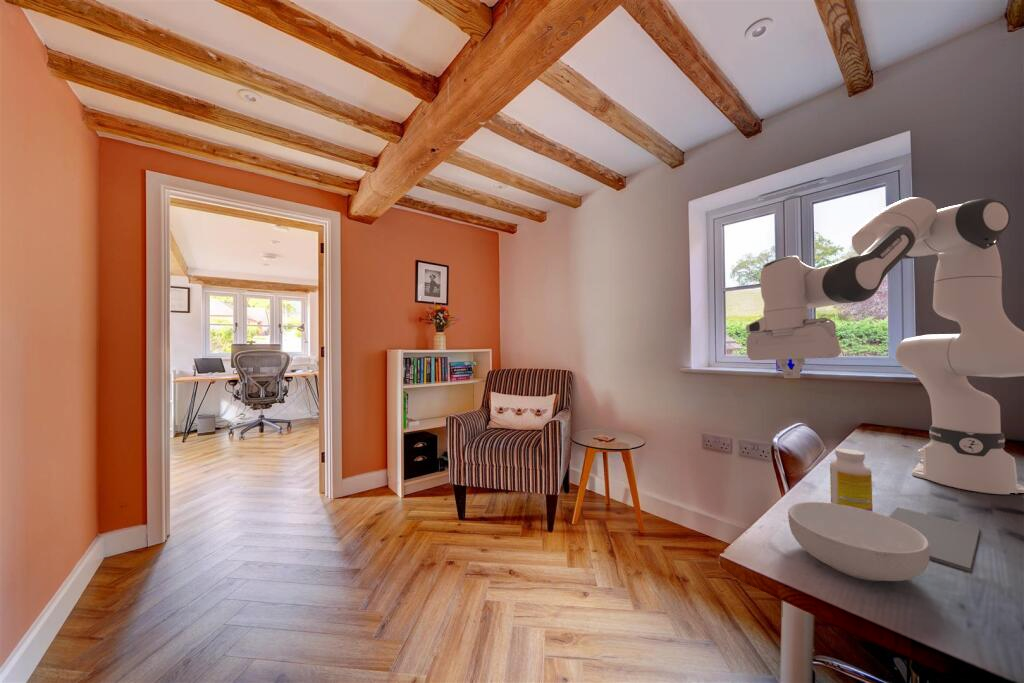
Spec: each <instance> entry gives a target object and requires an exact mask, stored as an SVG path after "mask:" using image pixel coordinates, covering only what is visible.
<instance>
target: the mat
mask: <svg viewBox="0 0 1024 683" xmlns="http://www.w3.org/2000/svg"><path fill="white" fill-rule="evenodd" d="M889 517H890V518H892V519H895V520H898V521H900V522H902V523H904V524H906V525H909V526H910V527H912V528H914V529H916V530H917V531H919V532H920V533H921V534H922V535H924V536H925V538H926V539H927V540H928V543H929V548H930V551H929V552H930V557H929V558H930V559H929V561H930V560H931V561H934V562H938V563H940V562H941V563H940V564H943V563H944V565H946V564H947V566H949V567H953V568H956V569H960V570H962V571H966V572H969V573H970V572H971V571H972V565H973V562H972V561H974V558H973V557H975V554H974V553H976V550H977V545H976V544H978V541H977V540H979V537H978V536H980V532H981V527H979V526H975V525H971V524H967V523H963V522H958V521H955V520H950V519H946V518H944V517H943V518H942V517H939V516H934V515H931V514H926V513H923V512H920V511H919V512H918V511H916V510H911V509H906V508H902V507H899V506H897V507H896V508H895V509H894V511H893V512H892V514H890V516H889Z"/></svg>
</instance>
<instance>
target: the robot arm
mask: <svg viewBox="0 0 1024 683" xmlns="http://www.w3.org/2000/svg"><path fill="white" fill-rule="evenodd" d="M1010 221H1011V213H1010V210H1009V209H1008V207H1007V205H1006V204H1004V203H1003V202H1002V201H1000V200H997V199H995V198H991V197H988V198H986V197H985V198H977V199H972V200H969V201H965V202H963V203H959V204H956V205H951V206H947V207H944V208H939V209H937V206H936V205H935V204H934V202H932V200H929V199H927V198H923V197H916V196H915V197H908V198H904V199H901V200H899V201H897V202H894V203H893V204H890V205H888V206H886V207H885V208H883V209H881V210H880V211H879V212H877V213H876V214H874V215H873V216H872V217H870V218H869V219H867V220H866V221H865V222H864V223H863V224H861V225H860V226H859V227H858V228H857V229H856V231H855V232H854V233H853V235H852V237H851V246H852V248H853V251H855V253H856V254H857V255H856V256H855V255H854V256H851V257H848V258H846V259H845V258H844V259H842V260H840V261H837V262H835V263H831V264H828V265H825V266H824V265H823V266H821V267H814V266H809V265H808V264H805V263H804V262H803V261H801V260H800V258H799V256H798V255H788V256H784V257H781V258H778V259H774V260H772V261H770V262H767V263H766V264H764V265H763V267H762V268H761V271H760V272H761V273H760V291H761V292H760V293H761V297H762V300H763V304H764V305H763V316H762V317H760V318H759V319H757V320H755V321H753V322H751V323H749V324H747V325H746V327H745V328H746V329H745V331H746V332H747V333H749V334H748V335H747V337H746V353H747V354H746V355H747V357H748V359H749V360H750V361H770V360H772V361H773V360H776V363H777V366H778V367H779V368H780V370H781V371H782V375H783V378H785V379H799V378H801V371H802V368H803V367H804V365H805V360H807V359H808V360H809V359H834V358H838V357H839V355H840V354H841V353H842V352H841V351H842V350H841V346H840V342H839V338H838V335H837V329H836V323H835V322H834V321H833V320H831V319H830V318H827V317H819V318H810V317H809V309H816V308H822V307H828V306H829V307H831V306H835V305H841V304H849V303H861V302H865V301H867V300H868V299H870V298H872V297H873V296H874V295H875V294H876V293H877V291H878V290H879V288H880V286H881V284H882V282H883V281H884V279H885V277H886V276H887V275H888V273H890V271H891V270H893V269H894V267H895V266H897V264H899V262H900V261H902V260H905V259H906V260H909V259H916V258H919V257H925V256H926V257H927V256H932V255H936V256H937V258H938V260H937V262H936V267H935V272H934V280H933V282H934V283H933V296H932V297H933V298H932V308H933V311H934V312H935V314H937V315H938V316H940V317H942V318H945V319H947V320H951V321H954V322H957V324H958V325H959V326H960V333H942V334H941V333H936V334H934V333H933V334H932V333H931V334H923V335H917V336H916V335H915V336H913V337H907V338H904V339H902V340H901V342H900V343H899V344H898V345H897V346H896V350H895V359H896V361H897V362H898V364H899V365H900V366H901V367H902V368H904V370H906V371H908V372H909V373H911V374H912V375H914V376H915V377H916V379H918V380H919V382H921V384H922V385H923V387H924V388H925V390H926V392H927V394H928V396H929V400H930V407H931V408H930V410H931V421H932V424H931V425H930V426H929V430H928V431H929V432H928V433H929V438H930V441H929V442H928V443H926V444H925V445H923V446H922V448H919V449H918V450H917V457H918V458H920V460H919V462H918V463H917V464H916V466H915V467H914V469H913V470H912V472H911V475H912V476H914V477H917V478H922V479H926V480H929V481H931V482H935V483H937V484H940V485H943V486H944V485H945V486H948V487H951V488H952V487H953V488H956V489H961V490H967V491H972V492H978V493H985V494H993V495H1011V494H1010V493H1015V494H1018V493H1024V486H1023V485H1021V484H1018V477H1017V476H1018V473H1017V465H1016V460H1015V457H1014V456H1012V455H1011V454H1009V453H1008V452H1006V451H1005V450H1004V448H1005V442H1006V438H1005V434H1004V433H1003V432H1002V430H1001V429H1002V428H1001V425H1002V424H1001V423H1002V422H1001V405H1000V403H999V402H998V400H996V399H995V398H994V397H993V396H992V395H990V394H988V393H986V392H983V391H981V390H978V389H977V388H975V387H973V385H972V384H971V383H969V380H968V378H967V377H968V376H969V377H987V378H1014V377H1015V378H1016V377H1024V331H1023V330H1022V329H1021V328H1019V327H1017V326H1016V325H1015V324H1014V323H1013V322H1012V321H1011V320H1010V319H1009V318H1008V315H1006V313H1005V310H1004V307H1003V295H1002V294H1003V292H1002V291H1003V290H1002V288H1003V287H1002V285H1003V283H1002V282H1003V281H1002V280H1003V271H1002V270H1003V268H1002V267H1003V266H1002V259H1001V256H1000V252H999V249H998V248H999V247H998V246H997V243H998V242H999V240H1000V238H1001V237H1002V236H1003V235H1004V234H1005V232H1006V231H1007V230H1008V227H1009V224H1010ZM789 360H791V364H792V365H793V364H794V366H792V369H791V368H790V367H789V365H788V364H789V363H790V361H789Z"/></svg>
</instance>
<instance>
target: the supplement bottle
mask: <svg viewBox="0 0 1024 683" xmlns="http://www.w3.org/2000/svg"><path fill="white" fill-rule="evenodd" d="M834 454H835V457H836V459H834V460H832V461H831V462H830V463H829V471H830V472H829V473H830V474H829V476H830V478H829V479H830V483H829V484H830V503H833V504H839V505H845V506H851V507H855V508H860V509H864V510H868V511H871V512H874V511H873V509H874V508H873V485H872V484H873V483H872V482H873V481H872V480H873V479H872V470H871V468H870V466H868V465H867V464H865V463H864V461H865V459H866V457H865V455H866V454H865V453H864V452H863V451H860V450H856V449H852V448H851V449H849V448H836V449H835V453H834Z"/></svg>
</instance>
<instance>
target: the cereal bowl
mask: <svg viewBox="0 0 1024 683" xmlns="http://www.w3.org/2000/svg"><path fill="white" fill-rule="evenodd" d="M787 513H788V515H787V516H788V523H789V524H788V525H789V528H790V532H791V534H792V536H793V538H794V539H795V541H796V542H797V543H798V545H799V546H801V547H802V549H804V551H806V552H807V553H809V554H810V555H811V556H813V557H814V558H815V559H817V560H819V561H820V562H822V563H824V564H826V565H828V566H830V567H831V568H833V569H834V570H836V571H838V572H840V573H843V574H844V575H847V576H851V577H853V578H856V579H860V580H865V581H869V582H870V581H872V582H883V581H884V582H902V581H908V580H911V579H915V578H916V577H918V576H920V575H921V574H923V573H924V572H925V571H926V569H927V568H928V566H929V563H930V558H929V557H930V552H929V551H930V548H929V543H928V540H927V539H926V538H925V536H924V535H922V534H921V533H920V532H919V531H917V530H916V529H914V528H912V527H910V526H909V525H906V524H904V523H902V522H900V521H898V520H895V519H892V518H890V516H887V515H885V514H881V513H878V512H874V511H873V512H871V511H868V510H864V509H860V508H855V507H851V506H845V505H839V504H833V503H831V502H823V501H822V502H821V501H820V502H819V501H818V502H817V501H805V502H798V503H794V504H792V505H791V506H789V508H788V510H787Z"/></svg>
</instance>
